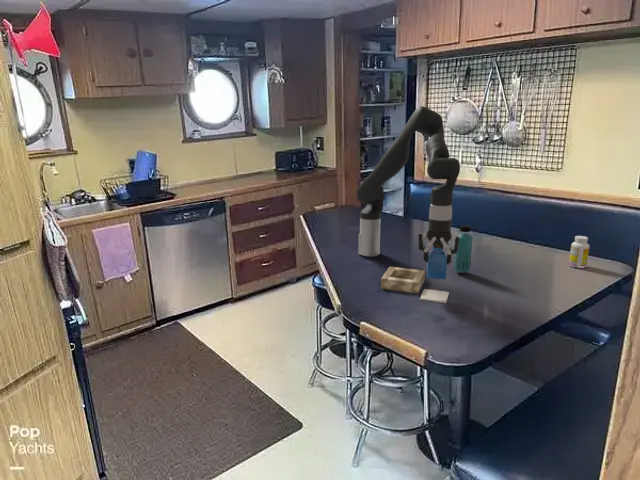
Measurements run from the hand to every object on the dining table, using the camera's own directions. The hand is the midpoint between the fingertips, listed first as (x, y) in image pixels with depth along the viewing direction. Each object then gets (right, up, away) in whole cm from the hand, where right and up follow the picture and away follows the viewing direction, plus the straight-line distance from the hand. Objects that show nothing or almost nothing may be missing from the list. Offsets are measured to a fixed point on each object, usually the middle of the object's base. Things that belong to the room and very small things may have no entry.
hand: (437, 262), depth 163 cm
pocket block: (-9, -9, +15) cm, 20 cm away
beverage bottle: (+17, -6, +26) cm, 31 cm away
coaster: (0, -12, +3) cm, 13 cm away
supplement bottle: (+68, -3, +33) cm, 75 cm away
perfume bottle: (0, -5, +1) cm, 5 cm away
